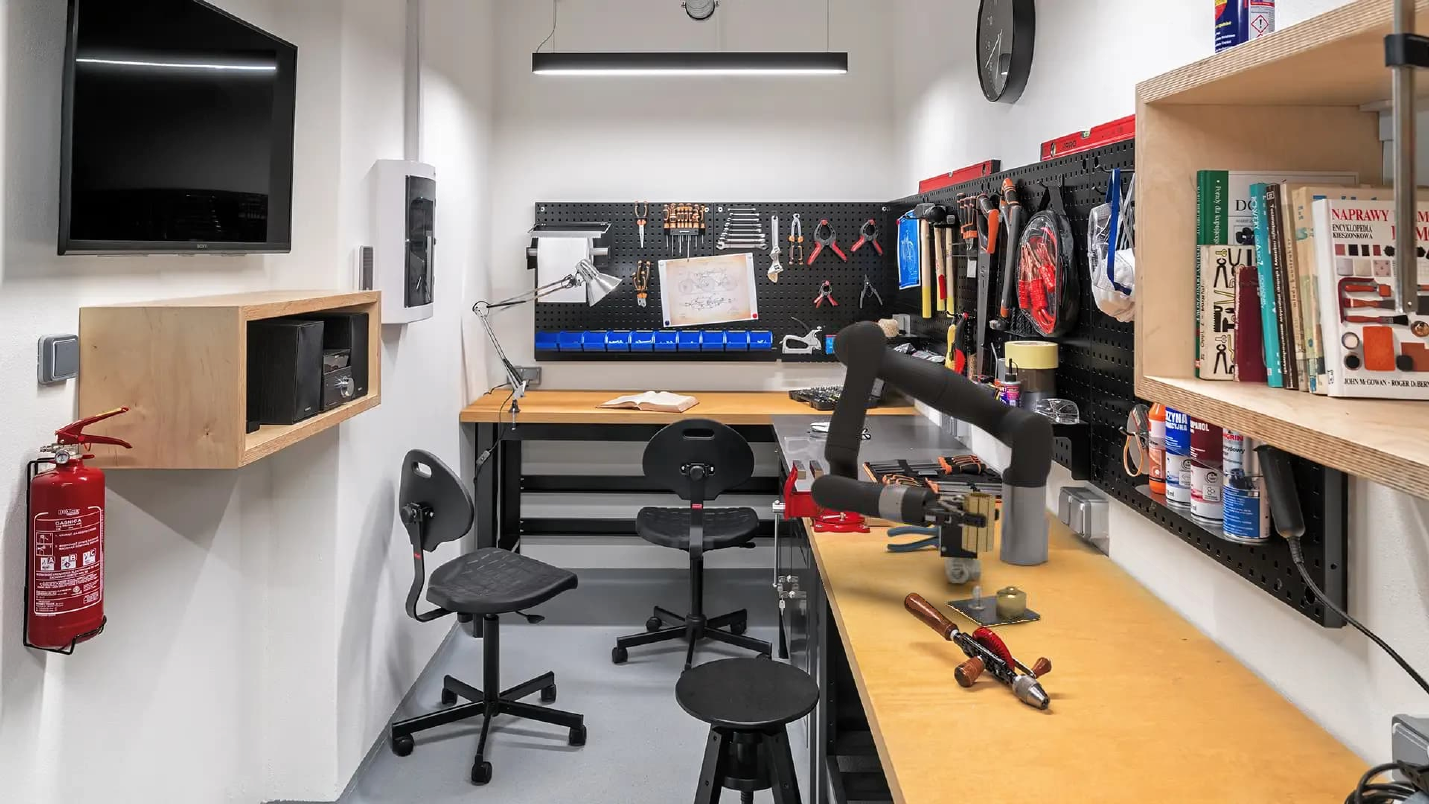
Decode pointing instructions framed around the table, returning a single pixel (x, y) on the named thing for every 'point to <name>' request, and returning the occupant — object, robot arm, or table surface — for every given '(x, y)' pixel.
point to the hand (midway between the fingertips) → (992, 518)
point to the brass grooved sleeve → (977, 536)
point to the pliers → (917, 544)
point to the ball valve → (957, 553)
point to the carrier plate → (985, 609)
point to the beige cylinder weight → (1011, 603)
